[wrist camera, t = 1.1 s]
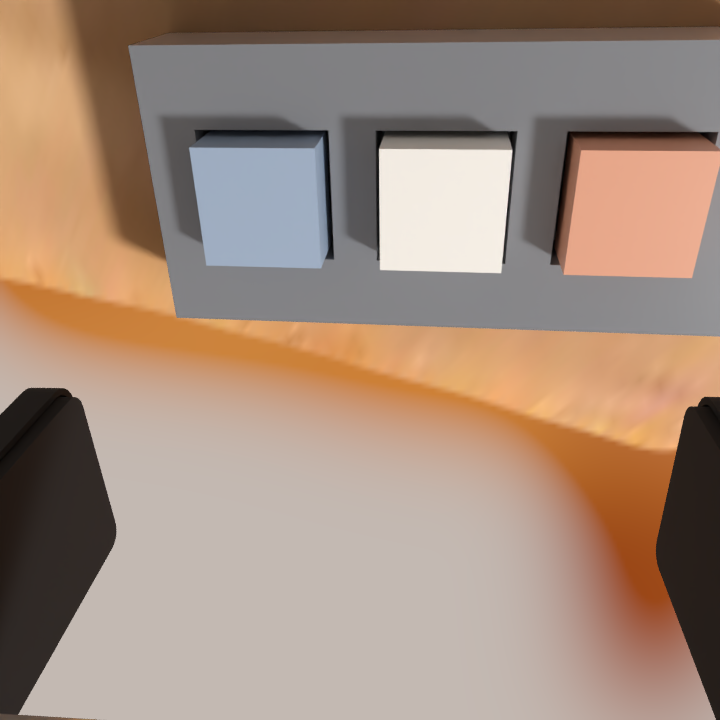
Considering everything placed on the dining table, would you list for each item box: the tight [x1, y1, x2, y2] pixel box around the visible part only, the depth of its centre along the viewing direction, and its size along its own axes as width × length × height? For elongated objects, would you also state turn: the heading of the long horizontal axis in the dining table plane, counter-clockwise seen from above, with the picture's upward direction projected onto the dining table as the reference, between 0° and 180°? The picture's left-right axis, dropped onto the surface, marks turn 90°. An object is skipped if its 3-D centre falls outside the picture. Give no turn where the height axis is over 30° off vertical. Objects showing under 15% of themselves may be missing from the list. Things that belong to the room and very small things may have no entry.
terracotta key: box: [554, 132, 720, 278], centre depth 28 cm, size 5×5×3 cm
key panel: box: [128, 26, 720, 336], centre depth 31 cm, size 12×25×4 cm, turn 91°
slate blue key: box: [189, 130, 332, 268], centre depth 29 cm, size 5×5×3 cm
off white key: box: [379, 131, 512, 273], centre depth 29 cm, size 5×5×3 cm
